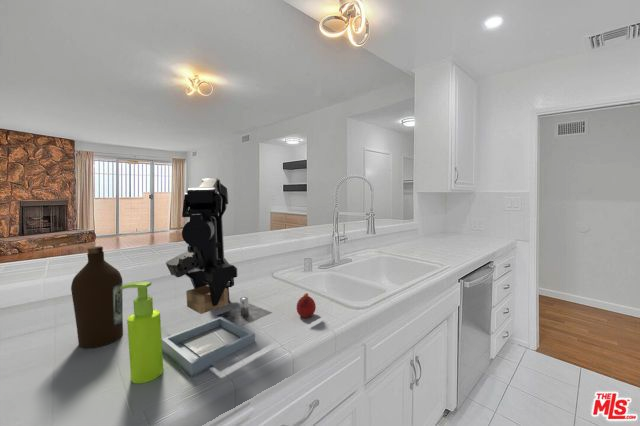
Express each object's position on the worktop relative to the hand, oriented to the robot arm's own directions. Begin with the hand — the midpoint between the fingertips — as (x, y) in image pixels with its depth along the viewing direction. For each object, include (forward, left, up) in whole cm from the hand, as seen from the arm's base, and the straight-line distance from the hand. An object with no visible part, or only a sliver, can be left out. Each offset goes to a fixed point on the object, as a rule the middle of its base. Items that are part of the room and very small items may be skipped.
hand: (207, 301), depth 69 cm
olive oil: (-27, -16, -12) cm, 34 cm away
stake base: (-8, +16, -12) cm, 21 cm away
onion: (+8, +27, -12) cm, 31 cm away
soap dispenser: (-1, -14, -12) cm, 19 cm away
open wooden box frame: (0, 0, -1) cm, 1 cm away
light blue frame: (0, 0, -12) cm, 12 cm away
